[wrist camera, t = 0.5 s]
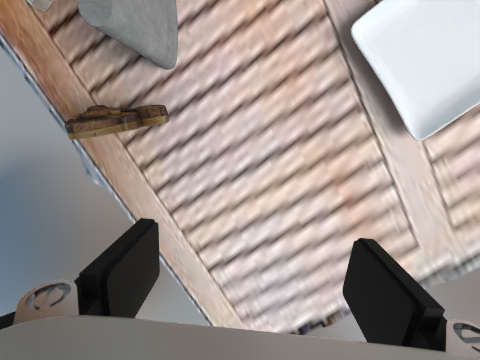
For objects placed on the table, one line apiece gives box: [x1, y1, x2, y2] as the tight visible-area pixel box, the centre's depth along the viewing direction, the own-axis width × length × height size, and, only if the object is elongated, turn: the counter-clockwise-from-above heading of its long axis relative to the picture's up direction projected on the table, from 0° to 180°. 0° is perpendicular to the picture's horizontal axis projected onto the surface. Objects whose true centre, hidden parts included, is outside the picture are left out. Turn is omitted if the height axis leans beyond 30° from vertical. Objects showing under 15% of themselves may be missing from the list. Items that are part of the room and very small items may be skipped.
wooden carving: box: [65, 105, 169, 140], centre depth 35 cm, size 16×5×10 cm, turn 103°
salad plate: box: [351, 0, 480, 141], centre depth 33 cm, size 21×21×3 cm
